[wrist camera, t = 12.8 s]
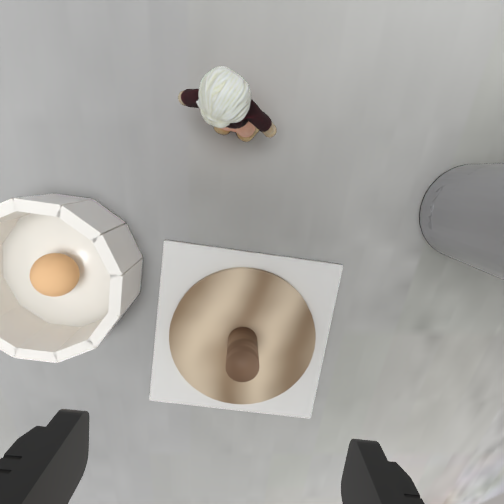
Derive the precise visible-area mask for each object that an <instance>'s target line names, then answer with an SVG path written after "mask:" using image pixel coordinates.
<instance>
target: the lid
mask: <svg viewBox="0 0 504 504" xmlns="http://www.w3.org/2000/svg"><path fill="white" fill-rule="evenodd" d="M315 341H316V332H315V325H314V321H313V318H312V314H311V312H310V310H309V308H308V306H307V304H306V302H305V300H304V299H303V297H302V296H301V294H300V293H299V292H298V291H297V290H296V289H295V288H294V287H293V286H292V285H291V284H290V283H289V282H287V281H286V280H284V279H283V278H281V277H279V276H277V275H275V274H273V273H271V272H268V271H265V270H262V269H257V268H249V267H236V268H229V269H224V270H220V271H217V272H214V273H212V274H210V275H208V276H206V277H204V278H203V279H201V280H200V281H198V282H197V283H196V284H194V285H193V286H192V287H191V288H190V289H189V290H188V291H187V292H186V293H185V294H184V296H183V297H182V299H181V300H180V302H179V304H178V306H177V308H176V310H175V312H174V314H173V317H172V320H171V324H170V329H169V345H170V351H171V355H172V358H173V361H174V363H175V365H176V367H177V369H178V371H179V372H180V374H181V375H182V376H183V378H184V379H185V380H186V381H187V382H188V383H189V384H190V385H191V386H192V387H193V388H195V389H196V390H197V391H199V392H200V393H202V394H204V395H206V396H207V397H210V398H212V399H214V400H218V401H221V402H225V403H230V404H253V403H259V402H263V401H266V400H269V399H272V398H274V397H276V396H278V395H280V394H282V393H284V392H285V391H287V390H288V389H289V388H291V387H292V386H293V385H294V384H295V383H296V382H297V381H298V380H299V379H300V378H301V376H302V375H303V374H304V372H305V371H306V369H307V368H308V366H309V364H310V361H311V359H312V356H313V353H314V349H315Z"/></svg>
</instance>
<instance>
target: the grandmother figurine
mask: <svg viewBox="0 0 504 504" xmlns="http://www.w3.org/2000/svg"><path fill="white" fill-rule="evenodd" d="M251 97H252V95H251V92H250V87H249V85H248V83H247V82H246V81H245V80H244V78H243V77H242V76H240V75H239V74H238V73H236V72H234V71H232V70H231V69H229V68H227V67H223V66H219V67H216V68H214V69H212V70H210V72H208V73H207V74H206V75H205V76H204V77H203V79H202V80H201V83H200V86H199V89H187V90H185V91H182V92H180V93H179V96H178V99H179V102H180V103H181V104H182V105H184V106H188V107H196V108H200V111H201V115H202V117H203V118H204V120H205V122H206V123H208V124H210V125H213V126H214V129H215V131H216V132H217V133H219V134H222V135H226V134H228V133H229V132H230V131H232V132H237V136H238V138H239V139H241V140H242V141H245V142H248V141H250V140H251V139H252V138H253V137H254V136H255V135H256V134H257V132H258V131H259V130H260V131H261V132H263V133H264V135H265V136H266V137H269V138H271V137H273V136H274V135H275V134H276V127H275V125H273V123H272V121H271V119H270V118H269V117H268V116H267V115H266V114H265V113H264V112H262V111H261V110H260V108H259V107H258V106H257V105H256V104H255V102H254V101H253V100H252V99H251Z"/></svg>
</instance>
